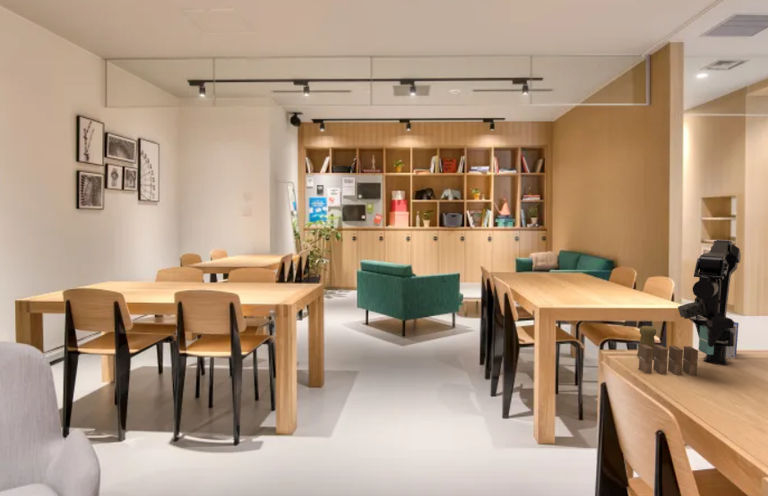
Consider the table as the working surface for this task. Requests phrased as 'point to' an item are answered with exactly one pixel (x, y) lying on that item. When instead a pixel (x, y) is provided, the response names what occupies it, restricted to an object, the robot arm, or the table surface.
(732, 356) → the walkman
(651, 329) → the cork
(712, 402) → the table surface
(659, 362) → the domino
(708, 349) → the domino
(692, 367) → the domino
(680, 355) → the domino
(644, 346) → the domino
